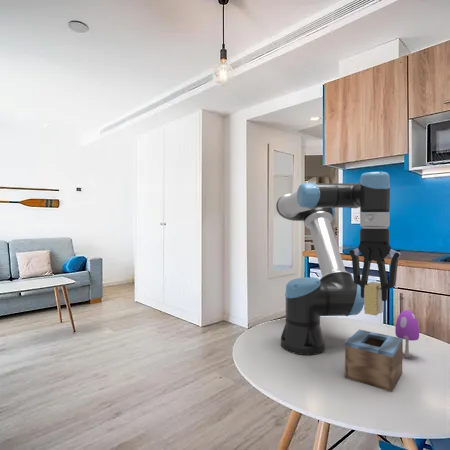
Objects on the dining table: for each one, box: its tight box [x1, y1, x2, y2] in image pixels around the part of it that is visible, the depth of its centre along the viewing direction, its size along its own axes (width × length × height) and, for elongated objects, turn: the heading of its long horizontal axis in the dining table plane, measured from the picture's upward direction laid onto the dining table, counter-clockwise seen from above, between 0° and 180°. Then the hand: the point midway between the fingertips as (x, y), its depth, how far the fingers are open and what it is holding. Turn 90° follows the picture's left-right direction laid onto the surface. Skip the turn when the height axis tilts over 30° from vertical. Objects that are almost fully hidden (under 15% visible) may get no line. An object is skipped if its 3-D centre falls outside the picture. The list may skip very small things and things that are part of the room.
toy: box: [394, 309, 420, 358], centre depth 103 cm, size 7×7×15 cm
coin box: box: [344, 329, 404, 392], centre depth 92 cm, size 12×13×10 cm
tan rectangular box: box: [364, 281, 381, 317], centre depth 91 cm, size 3×6×8 cm, turn 140°
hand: (373, 310), depth 91 cm, fingers closed on tan rectangular box, 3 cm apart
